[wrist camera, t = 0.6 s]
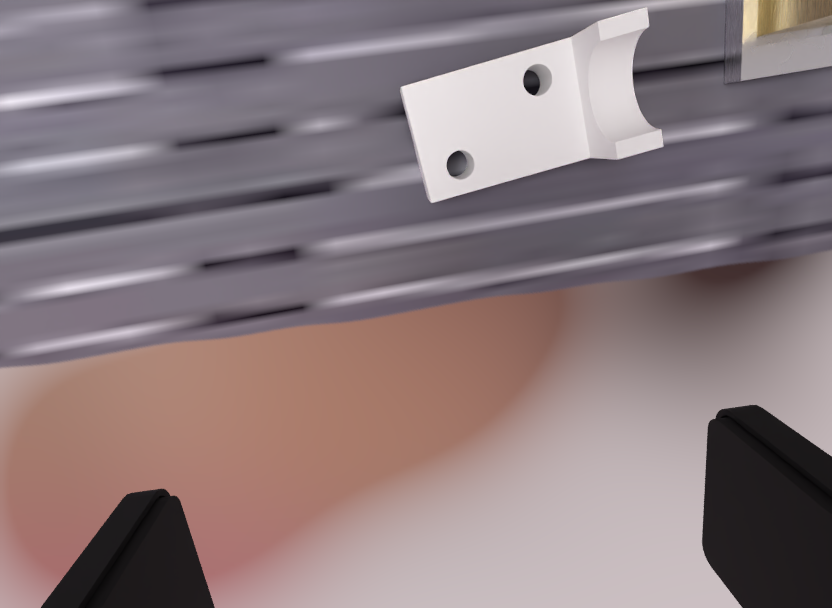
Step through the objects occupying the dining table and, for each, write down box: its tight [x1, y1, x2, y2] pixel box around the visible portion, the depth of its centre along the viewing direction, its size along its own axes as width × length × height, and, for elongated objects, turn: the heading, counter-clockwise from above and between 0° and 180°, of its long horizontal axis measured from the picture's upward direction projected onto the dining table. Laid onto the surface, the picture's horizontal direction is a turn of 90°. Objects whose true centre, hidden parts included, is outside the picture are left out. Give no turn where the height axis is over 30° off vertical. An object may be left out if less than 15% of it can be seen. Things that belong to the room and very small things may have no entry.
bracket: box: [400, 7, 663, 203], centre depth 31 cm, size 13×7×8 cm, turn 105°
